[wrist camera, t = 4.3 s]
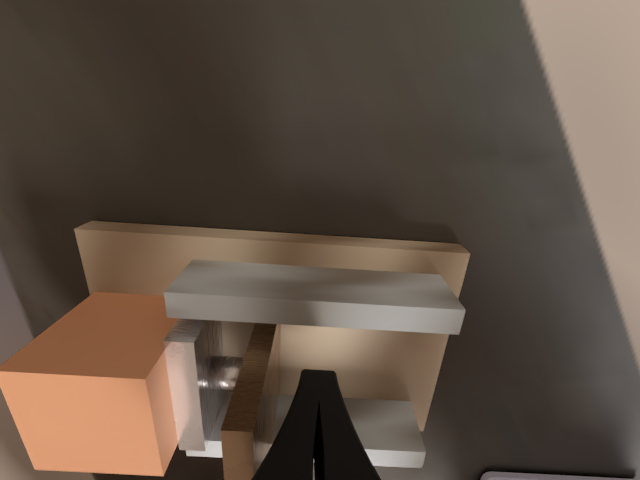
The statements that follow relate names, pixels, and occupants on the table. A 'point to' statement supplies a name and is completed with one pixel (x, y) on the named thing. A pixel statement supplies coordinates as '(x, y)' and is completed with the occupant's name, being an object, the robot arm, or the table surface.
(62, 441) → the terracotta block
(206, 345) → the sliding carriage
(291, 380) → the channel deck
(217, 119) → the table surface
